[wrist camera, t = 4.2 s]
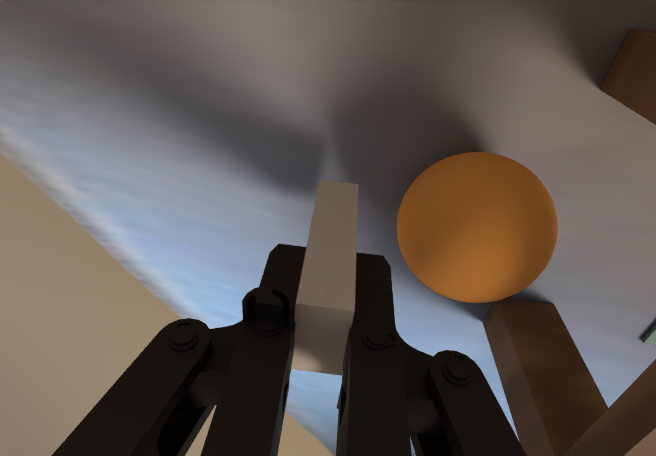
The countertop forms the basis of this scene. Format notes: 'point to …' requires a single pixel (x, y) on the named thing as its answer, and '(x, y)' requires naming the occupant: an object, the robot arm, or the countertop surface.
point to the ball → (477, 227)
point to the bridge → (557, 345)
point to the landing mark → (650, 336)
